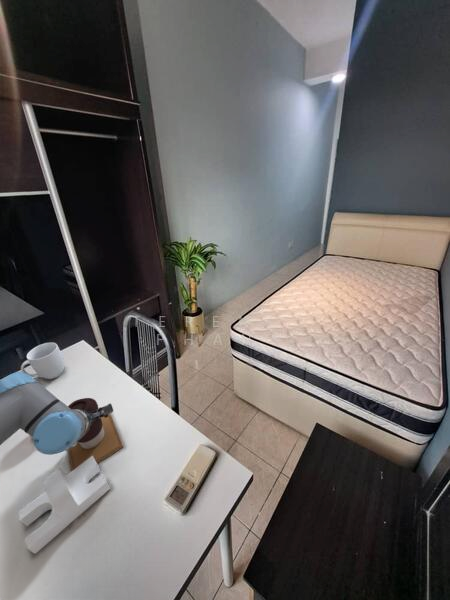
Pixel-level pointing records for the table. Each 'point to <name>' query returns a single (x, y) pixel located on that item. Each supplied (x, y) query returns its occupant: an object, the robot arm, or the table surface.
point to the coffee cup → (96, 428)
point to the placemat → (101, 450)
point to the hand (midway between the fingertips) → (86, 419)
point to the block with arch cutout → (63, 501)
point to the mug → (45, 361)
